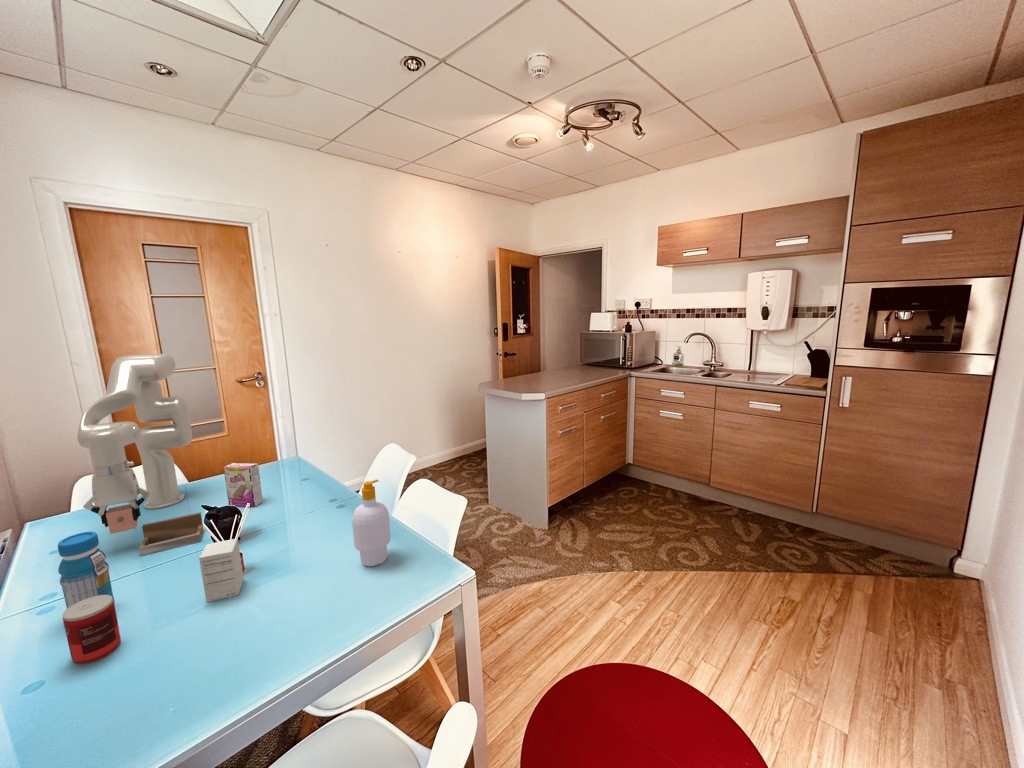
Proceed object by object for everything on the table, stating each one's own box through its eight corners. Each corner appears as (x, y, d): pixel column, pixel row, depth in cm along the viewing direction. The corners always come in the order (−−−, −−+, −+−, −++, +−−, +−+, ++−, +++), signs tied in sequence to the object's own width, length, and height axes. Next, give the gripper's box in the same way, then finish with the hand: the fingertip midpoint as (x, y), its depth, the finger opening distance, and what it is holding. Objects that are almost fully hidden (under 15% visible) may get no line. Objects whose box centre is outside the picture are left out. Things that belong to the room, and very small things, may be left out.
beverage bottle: (73, 629, 98) (56, 551, 95) (63, 616, 102) (47, 541, 99) (120, 607, 105) (106, 534, 102) (109, 596, 109) (95, 526, 106)
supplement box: (212, 586, 112) (206, 543, 110) (244, 579, 115) (238, 537, 113) (205, 603, 106) (198, 557, 104) (239, 595, 109) (232, 550, 107)
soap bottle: (398, 558, 123) (393, 482, 119) (366, 574, 116) (359, 493, 112) (381, 546, 130) (375, 473, 126) (349, 560, 123) (342, 483, 119)
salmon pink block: (113, 528, 132) (108, 508, 130) (138, 522, 135) (134, 503, 134) (109, 535, 128) (104, 514, 126) (135, 529, 131) (131, 509, 130)
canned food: (93, 639, 95) (84, 595, 93) (131, 636, 95) (122, 592, 93) (60, 666, 87) (50, 620, 85) (101, 663, 88) (91, 616, 86)
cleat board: (146, 543, 136) (143, 524, 135) (203, 529, 144) (200, 512, 143) (139, 556, 128) (136, 536, 127) (200, 541, 136) (197, 523, 135)
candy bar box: (228, 507, 161) (222, 467, 159) (237, 501, 166) (232, 462, 163) (254, 507, 160) (249, 467, 157) (263, 502, 165) (258, 462, 162)
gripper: (150, 458, 135) (159, 509, 138) (76, 470, 126) (88, 524, 129) (145, 466, 129) (155, 519, 132) (67, 479, 120) (80, 535, 123)
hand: (122, 521), depth 131 cm, fingers closed on salmon pink block, 6 cm apart
